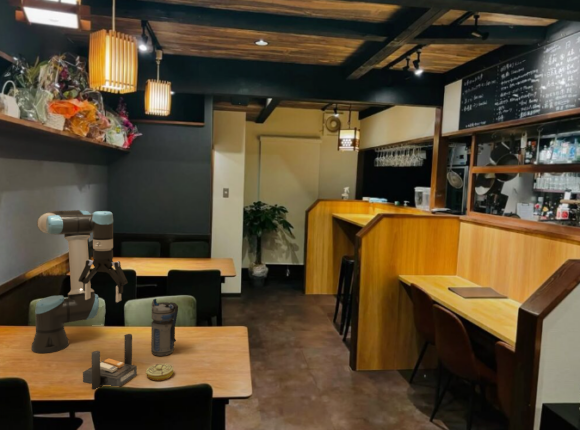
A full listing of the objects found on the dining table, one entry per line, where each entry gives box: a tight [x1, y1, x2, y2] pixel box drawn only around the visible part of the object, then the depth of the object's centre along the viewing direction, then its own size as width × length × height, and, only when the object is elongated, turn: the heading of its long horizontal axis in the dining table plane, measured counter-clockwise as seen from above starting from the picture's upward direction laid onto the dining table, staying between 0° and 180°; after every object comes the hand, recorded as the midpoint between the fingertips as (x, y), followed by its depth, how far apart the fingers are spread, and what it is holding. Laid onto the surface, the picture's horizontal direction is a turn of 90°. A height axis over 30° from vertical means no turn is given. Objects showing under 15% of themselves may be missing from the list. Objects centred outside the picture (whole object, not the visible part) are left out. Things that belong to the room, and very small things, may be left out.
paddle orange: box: [104, 357, 124, 368], centre depth 170 cm, size 8×3×1 cm, turn 74°
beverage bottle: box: [150, 298, 179, 357], centre depth 194 cm, size 10×13×25 cm
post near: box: [91, 350, 101, 390], centre depth 160 cm, size 3×3×14 cm
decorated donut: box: [145, 363, 174, 381], centre depth 172 cm, size 10×11×4 cm
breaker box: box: [82, 359, 138, 387], centre depth 168 cm, size 16×12×5 cm
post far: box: [123, 333, 133, 365], centre depth 179 cm, size 3×3×14 cm
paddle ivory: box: [100, 361, 117, 372], centre depth 166 cm, size 8×3×1 cm, turn 74°
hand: (103, 300), depth 173 cm, fingers open, 13 cm apart
